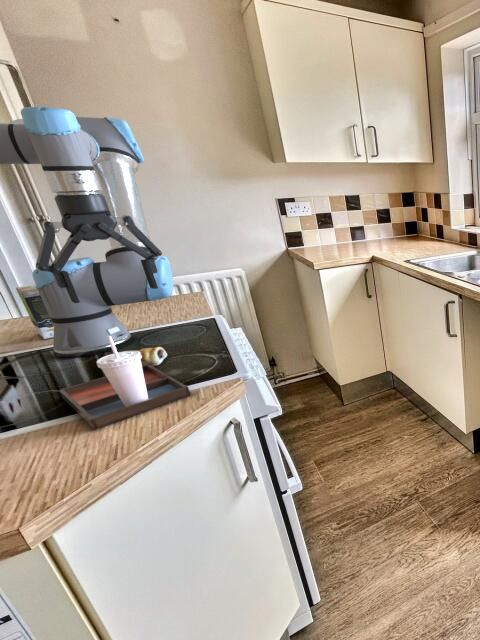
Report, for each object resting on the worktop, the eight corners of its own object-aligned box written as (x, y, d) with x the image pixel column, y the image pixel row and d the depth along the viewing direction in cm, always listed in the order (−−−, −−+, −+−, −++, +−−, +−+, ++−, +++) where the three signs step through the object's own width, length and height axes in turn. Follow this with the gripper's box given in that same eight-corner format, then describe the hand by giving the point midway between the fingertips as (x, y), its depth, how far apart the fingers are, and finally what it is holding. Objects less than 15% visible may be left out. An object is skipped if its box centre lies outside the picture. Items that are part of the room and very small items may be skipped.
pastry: (111, 372, 98) (105, 357, 97) (126, 361, 104) (120, 347, 103) (159, 366, 101) (154, 351, 100) (171, 356, 107) (166, 342, 106)
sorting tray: (62, 398, 87) (58, 389, 86) (151, 371, 98) (148, 363, 97) (94, 429, 75) (90, 420, 74) (191, 395, 86) (187, 386, 86)
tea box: (102, 320, 138) (84, 275, 132) (111, 325, 132) (92, 279, 127) (36, 334, 126) (14, 285, 121) (43, 340, 121) (20, 290, 115)
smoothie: (110, 413, 79) (80, 344, 74) (120, 399, 84) (93, 333, 79) (152, 404, 82) (126, 337, 76) (160, 391, 87) (136, 327, 82)
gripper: (-11, 197, 74) (41, 311, 82) (159, 191, 93) (188, 284, 101) (-18, 196, 78) (33, 306, 86) (146, 191, 97) (175, 281, 105)
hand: (117, 294), depth 94 cm, fingers open, 13 cm apart
